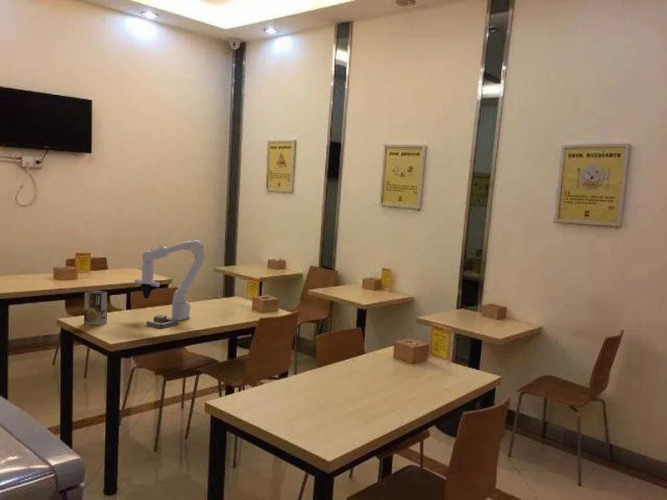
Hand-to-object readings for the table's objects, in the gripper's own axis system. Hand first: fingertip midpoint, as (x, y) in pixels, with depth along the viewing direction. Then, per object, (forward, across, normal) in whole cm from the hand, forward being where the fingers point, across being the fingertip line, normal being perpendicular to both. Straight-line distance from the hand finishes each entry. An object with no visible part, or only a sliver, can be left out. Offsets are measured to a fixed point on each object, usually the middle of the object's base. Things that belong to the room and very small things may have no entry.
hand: (146, 298), depth 292 cm
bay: (+10, -16, +8) cm, 21 cm away
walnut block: (+11, -14, +6) cm, 19 cm away
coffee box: (+11, +10, +25) cm, 29 cm away
